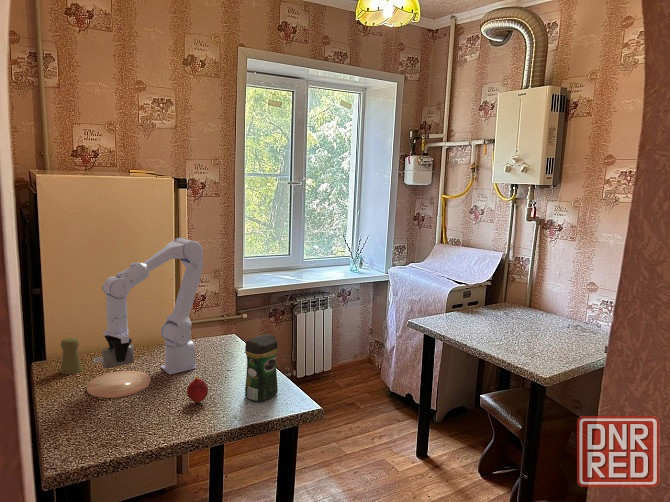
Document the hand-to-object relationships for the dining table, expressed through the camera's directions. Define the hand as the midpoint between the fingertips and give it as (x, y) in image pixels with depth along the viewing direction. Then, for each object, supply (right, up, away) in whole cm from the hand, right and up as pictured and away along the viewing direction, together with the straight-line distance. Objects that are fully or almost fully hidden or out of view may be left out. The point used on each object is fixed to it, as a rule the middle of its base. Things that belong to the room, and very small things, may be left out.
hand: (118, 359), depth 147 cm
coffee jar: (+44, -11, -2) cm, 45 cm away
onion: (+27, -11, -8) cm, 30 cm away
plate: (0, -8, +1) cm, 8 cm away
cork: (-20, -6, +10) cm, 24 cm away
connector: (-1, -2, -1) cm, 2 cm away
